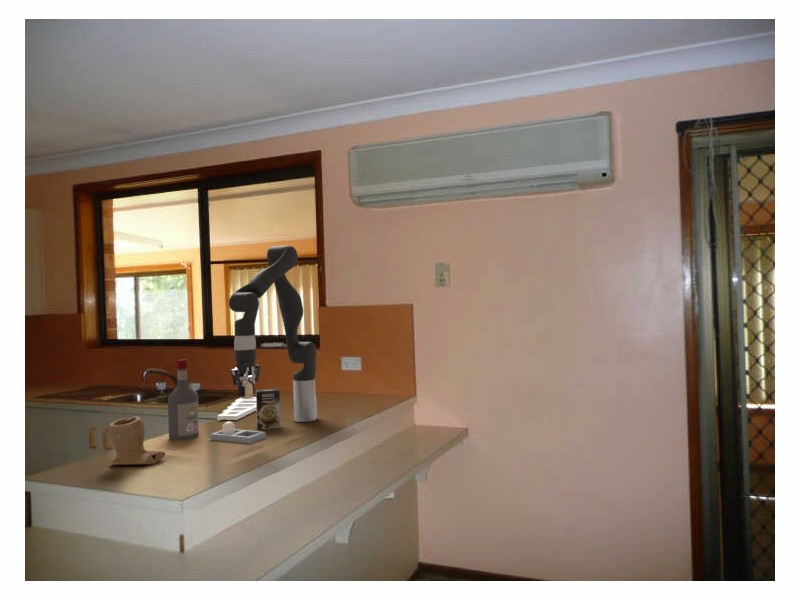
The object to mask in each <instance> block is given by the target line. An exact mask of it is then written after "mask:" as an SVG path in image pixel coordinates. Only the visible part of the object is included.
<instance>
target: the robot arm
mask: <svg viewBox="0 0 800 600" xmlns="http://www.w3.org/2000/svg"><path fill="white" fill-rule="evenodd" d="M266 259H267V263H268V264H267V265H268V266H267V267H266V268H264V269H262V270H260V271H259V272H257V273H256V274H255V275H254V276H253V277H251V279H250V280H249V281H248V283H247V284H245V285H243V286H241V287H240V288H238V289H237V290H235V291H234V292H233V293H232V294H231V295H230V297H229V300H228V306H229V309H230V310H231V311H233V312H235V313H243V316H242V318H239V319H236V320H235V321H234V340H233V344H234V345H233V346H234V350H233V351H234V362H236V366H235V367H234V368H232V369H230V374H231V375H230V376H231V378H232V379H231V380H232V383H233V386H236V387H238V389H237V390H238V391H237V393H238V396H239V398H240V397H245V386H244V385H245V382H246V381H248V382H250V383H251V384H252V385H253V395H255V384H256V382H259V380H260V379H259V377H260V372H261V365H258V364H256V363H255V361H257V339H256V328H255V327H256V326H255V324H256V319H257V316H258V311H259V307H260V300H259V299H261V298H262V297H263V295H265V293H267V291H268V290H269V289H270V288H271V286H272V285H274V287H275V291H276V295H277V301H278V305H279V310H280V314H281V315H280V316H281V319H282V322H283V327H284V335H285V340H286V348H287V355H288V358H289V360H290V362H291V363H293V364H303V367H302V369H300V370H298V371H296V372H294V373H293V374H292V383H293V384H292V386H293V387H292V388H293V418H294V421H295V422H297V423H305V422H307V423H308V422H314V421H316V420H317V419H318V403H317V400H318V399H317V396H316V392H317V391H316V372H317V349H316V345H315V343H314V342H312V341H299V337H298V329H299V326H300V324H301V321H302V319H303V316H304V307H303V301H302V297H301V296H300V293H299V292H298V291H297V290H296V288H295V287H294V286H293V284H291V282H290V281H289V279H288V277H287V276H286V273H287V272H289V271H290V270H291V269H292V268H294V267H295V266H296V264H297V262H298V259H299V258H298V251H297V249H296V248H295V247H294V246H292V245H273V246H270V247H269V248H268V250H267V251H266Z"/></svg>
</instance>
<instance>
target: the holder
mask: <svg viewBox="0 0 800 600" xmlns="http://www.w3.org/2000/svg"><path fill="white" fill-rule="evenodd" d="M254 411H256V396H253V398H247V399H242V398H240V397H239V398H237V399H235V400H234V402H232V403H230V405H229V406H227V407H226V409H224V410H222V413H220V414H218V415H217V421H219V422H221V421H220V420H223V419H227V420H238V419H240V418H242V417H244V416H246V415H248V414H250V413H252V412H254ZM254 413H255V412H254ZM252 414H253V413H252ZM250 415H251V414H250ZM248 416H249V415H248ZM246 417H247V416H246ZM244 418H245V417H244ZM242 419H243V418H242ZM240 420H241V419H240ZM238 421H239V420H238Z"/></svg>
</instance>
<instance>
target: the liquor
mask: <svg viewBox="0 0 800 600" xmlns="http://www.w3.org/2000/svg"><path fill="white" fill-rule="evenodd" d="M176 369H177V371H176V374H177V375H176V376H177V382H176V387H175V388H174V389H173V390H172V392H171V393H170V394H169V395H168V397H167V413H168V414H167V415H168V417H167V418H168V440H176V441H185V440H189V439H194V438H197V437H199V435H200V425H199V422H200V421H199V396H198V393H197V392H196V391H195V390H194V389H193V388H192V387H191V386H190V385H189V382H188V381H189V380H188V359H176Z"/></svg>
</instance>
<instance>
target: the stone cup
mask: <svg viewBox="0 0 800 600" xmlns="http://www.w3.org/2000/svg"><path fill="white" fill-rule="evenodd" d="M107 432H108V435H109V438H110V441H111V443H112V445H113V447H114V449H115V452H116V455H115V456H114V457H113V458H112V459H110V461H109V463H110V464H111V465H117V466H118V465H119V466H123V465H124V466H127V465H128V466H129V465H131V466H133V465H136V466H137V465H142V466H143V465H153V464H156V463H158V462H159V461H161V460H162V459H163V458H164V457H165V456H166V452H165V451H157V450H155V451H151V450H146V449H145V448H144V440H145V433H146V431H145V423H144V421H143V419H142V417H139V416H136V415H135V416H132V417H130V418H129V417H124V418H120V419H117V420H115V421H113V422H111V423H109V425H108V428H107Z"/></svg>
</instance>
